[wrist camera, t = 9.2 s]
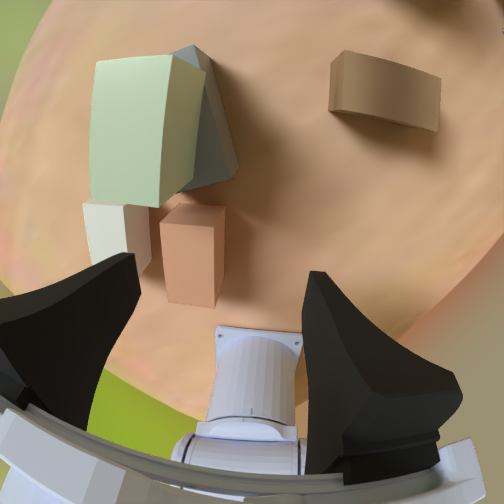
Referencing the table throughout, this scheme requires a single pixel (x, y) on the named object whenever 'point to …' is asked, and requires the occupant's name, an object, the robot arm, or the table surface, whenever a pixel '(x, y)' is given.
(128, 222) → the pale grey brick
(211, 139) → the charcoal brick
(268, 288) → the table surface
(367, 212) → the table surface
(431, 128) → the walnut brick
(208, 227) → the terracotta brick
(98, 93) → the sage brick
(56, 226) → the table surface
